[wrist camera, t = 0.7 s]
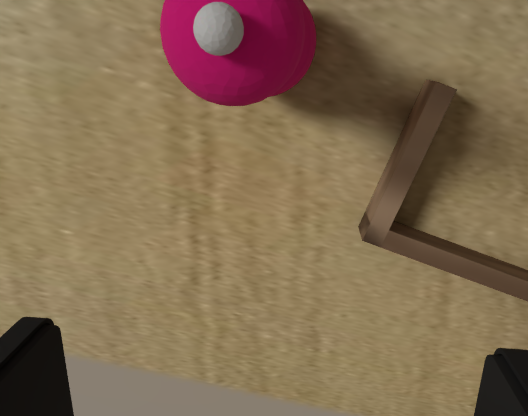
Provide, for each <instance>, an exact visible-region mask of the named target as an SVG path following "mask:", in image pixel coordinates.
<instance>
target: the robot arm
mask: <svg viewBox="0 0 528 416" xmlns="http://www.w3.org/2000/svg"><path fill="white" fill-rule="evenodd" d="M0 416H74V414H73V408H72V401H71V395H70V388H69V382H68V376H67V369H66V363H65V356H64V350H63V344H62V337H61V331H60V328H59V327H58V326H56V325H54V323H53V321H52V320H51V319H49V318H37V317H23V318H21V319H20V320H19V321H18V322H16V323H15V324H14V325H13V326H12V327H11V328H10V329H9V330H8V331H7V332H6V333H5V334H4V335H2V336H1V337H0ZM474 416H528V350H521V349H506V348H498V349H496V351H495V353H494V355H487V357H486V359H485V363H484V368H483V373H482V378H481V383H480V388H479V393H478V398H477V403H476V408H475V413H474Z"/></svg>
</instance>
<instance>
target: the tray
mask: <svg viewBox="0 0 528 416" xmlns="http://www.w3.org/2000/svg"><path fill="white" fill-rule="evenodd" d="M456 90H457V89H454V88H452V87H449V86H446V85H444V84H441V83H439V82H435V81H431V80H425V82H424V85H423V87H422V89H421V91H420V93H419V96H418V98H417V100H416V102H415V104H414V106H413V109H412V111H411V113H410V115H409V117H408V120H407V122H406V124H405V126H404V128H403V130H402V133H401V135H400V137H399V139H398V141H397V144H396V146H395V148H394V150H393V152H392V154H391V157H390V159H389V161H388V163H387V165H386V168H385V170H384V172H383V174H382V176H381V178H380V181H379V183H378V185H377V187H376V189H375V192H374V194H373V196H372V198H371V200H370V203H369V205H368V207H367V209H366V211H365V213H364V216H363V218H362V220H361V222H360V224H359V231H360V234H361V238H362V241H365V242H367V243H370V244H373V245H376V246H378V247H381V248H384V249H387V250H389V251H392V252H395V253H397V254H400V255H403V256H406V257H408V258H411V259H414V260H417V261H419V262H422V263H425V264H427V265H430V266H433V267H436V268H438V269H441V270H444V271H447V272H449V273H452V274H455V275H457V276H460V277H463V278H466V279H468V280H471V281H474V282H476V283H479V284H482V285H485V286H487V287H490V288H493V289H496V290H498V291H501V292H504V293H506V294H509V295H512V296H515V297H517V298H520V299H523V300H526V301H528V270H525V269H522V268H520V267H517V266H514V265H512V264H509V263H506V262H503V261H501V260H498V259H495V258H493V257H490V256H487V255H484V254H482V253H479V252H476V251H474V250H471V249H468V248H465V247H463V246H460V245H457V244H455V243H452V242H449V241H446V240H444V239H441V238H438V237H436V236H433V235H430V234H427V233H425V232H422V231H419V230H417V229H414V228H411V227H408V226H406V225H403V224H400V223H398V222H395V221H394V218H395V216H396V214H397V212H398V210H399V208H400V206H401V204H402V202H403V200H404V198H405V196H406V194H407V192H408V190H409V187H410V185H411V183H412V181H413V179H414V177H415V175H416V173H417V171H418V169H419V167H420V165H421V163H422V161H423V159H424V156H425V154H426V152H427V150H428V148H429V146H430V144H431V142H432V140H433V138H434V136H435V134H436V132H437V130H438V128H439V126H440V123H441V121H442V119H443V117H444V115H445V113H446V111H447V109H448V107H449V105H450V103H451V101H452V99H453V97H454V95H455V92H456Z"/></svg>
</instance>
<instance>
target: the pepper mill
mask: <svg viewBox="0 0 528 416" xmlns="http://www.w3.org/2000/svg"><path fill="white" fill-rule="evenodd" d="M160 32H161V39H162V46H163V50H164V52H165V55H166V57H167V60H168V63H169V65H170V66H171V68H172V70H173V71H174V73H175V75H176V76H177V77H178V78H179V80H180V81H181V82H182V83H183V84H184V85H185V86H186V87H187V88H188V89H189V90H191V91H192V92H193V93H195V94H196V95H197V96H199V97H201V98H203V99H205V100H207V101H209V102H213V103H216V104H219V105H226V106H245V105H249V104H253V103H256V102H260V101H262V100H264V99H265V98H267V97H270V96H275V95H278V94H281V93H283V92H285V91H287V90H289V89H291V88H292V87H293V86H294V85H296V84H297V83H298V82H299V81H300V80H301V79H302V77H303V76H304V75H305V74H306V72H307V70H308V69H309V67H310V65H311V62H312V60H313V57H314V54H315V48H316V30H315V24H314V21H313V18H312V15H311V13H310V11H309V9H308V7H307V6H306V4H305V3H304V1H303V0H165V2H164V4H163V9H162V15H161V24H160Z"/></svg>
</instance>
